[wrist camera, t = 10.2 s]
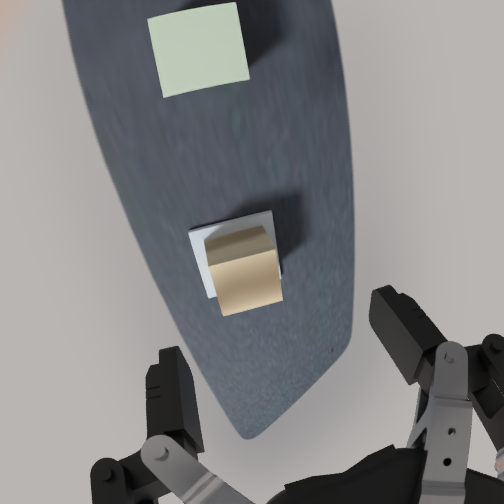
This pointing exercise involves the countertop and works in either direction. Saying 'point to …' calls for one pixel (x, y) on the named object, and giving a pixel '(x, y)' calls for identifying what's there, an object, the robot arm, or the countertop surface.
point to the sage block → (198, 48)
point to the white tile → (224, 228)
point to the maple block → (243, 270)
